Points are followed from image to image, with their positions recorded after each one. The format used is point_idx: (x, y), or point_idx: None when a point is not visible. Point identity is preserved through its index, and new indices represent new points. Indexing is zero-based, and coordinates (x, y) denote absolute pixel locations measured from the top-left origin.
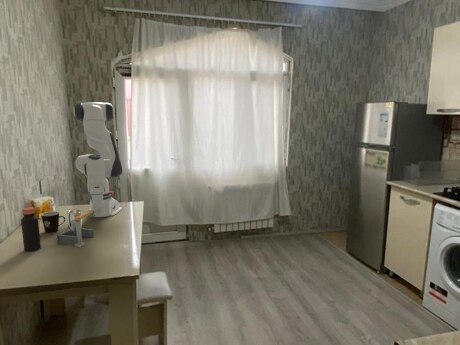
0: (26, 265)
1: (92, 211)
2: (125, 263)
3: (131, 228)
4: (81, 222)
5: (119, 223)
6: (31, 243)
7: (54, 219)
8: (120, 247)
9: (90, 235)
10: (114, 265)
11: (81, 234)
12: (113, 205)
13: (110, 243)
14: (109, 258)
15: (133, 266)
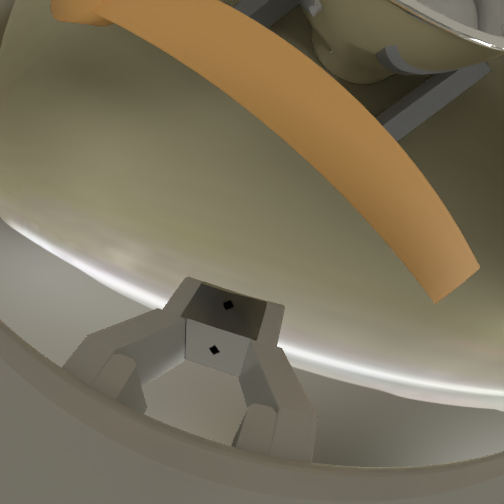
0: None
1: (406, 263)
2: (21, 209)
3: (336, 357)
4: (336, 47)
5: (447, 340)
6: None
7: None
8: (112, 235)
9: None
10: (15, 179)
11: (347, 68)
12: None
13: (172, 211)
14: (44, 173)
15: (12, 222)
